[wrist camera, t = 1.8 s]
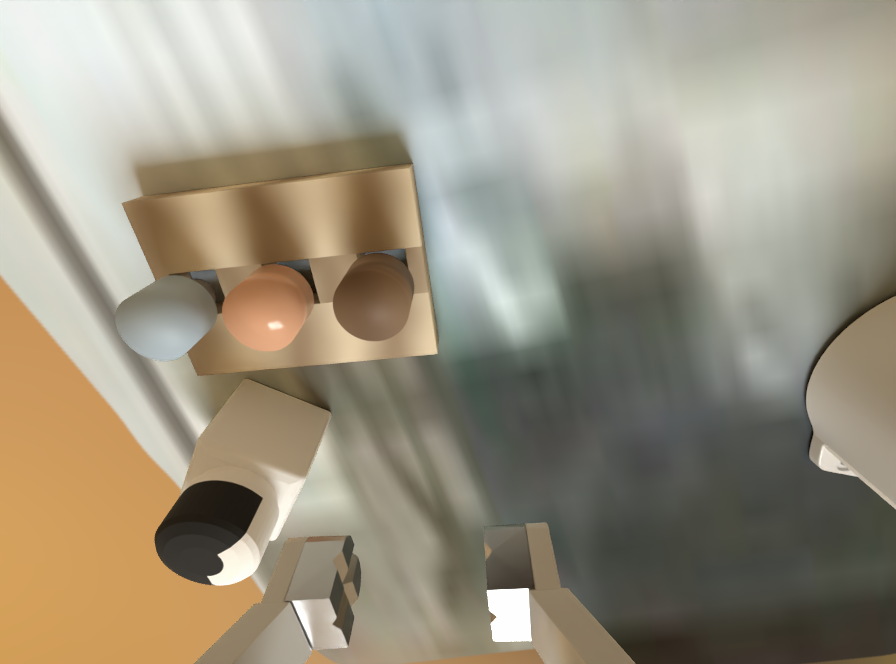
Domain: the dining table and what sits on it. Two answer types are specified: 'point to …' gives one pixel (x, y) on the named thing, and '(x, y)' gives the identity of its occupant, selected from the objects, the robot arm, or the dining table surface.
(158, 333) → the slate-blue button
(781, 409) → the dining table surface
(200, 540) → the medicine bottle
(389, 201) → the button board
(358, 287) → the brown rounded piece
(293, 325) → the peach rounded knob
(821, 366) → the robot arm
